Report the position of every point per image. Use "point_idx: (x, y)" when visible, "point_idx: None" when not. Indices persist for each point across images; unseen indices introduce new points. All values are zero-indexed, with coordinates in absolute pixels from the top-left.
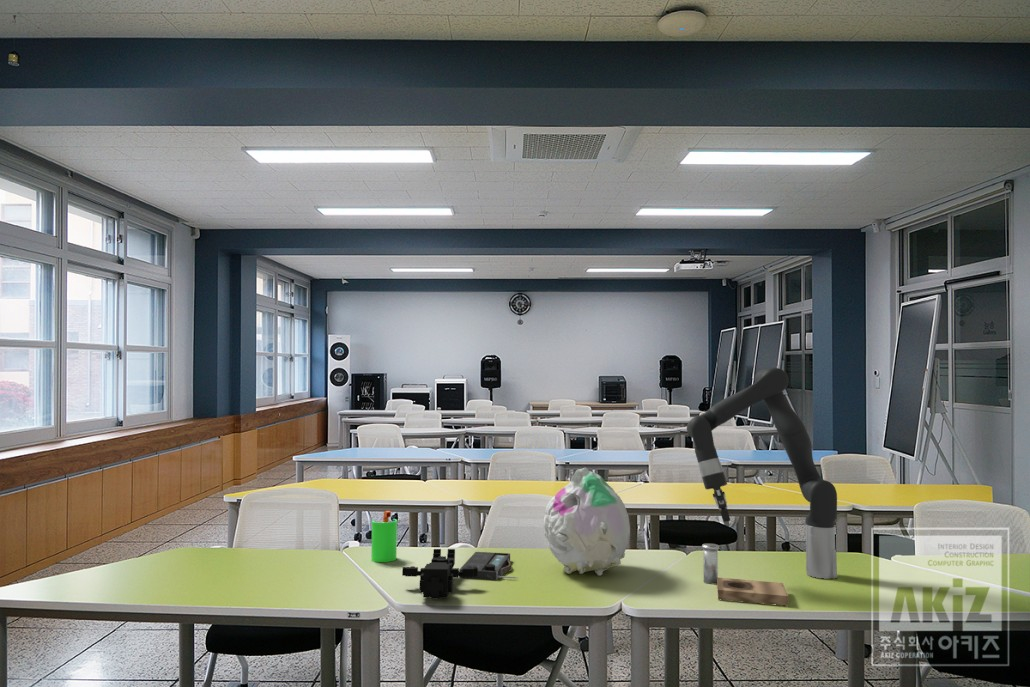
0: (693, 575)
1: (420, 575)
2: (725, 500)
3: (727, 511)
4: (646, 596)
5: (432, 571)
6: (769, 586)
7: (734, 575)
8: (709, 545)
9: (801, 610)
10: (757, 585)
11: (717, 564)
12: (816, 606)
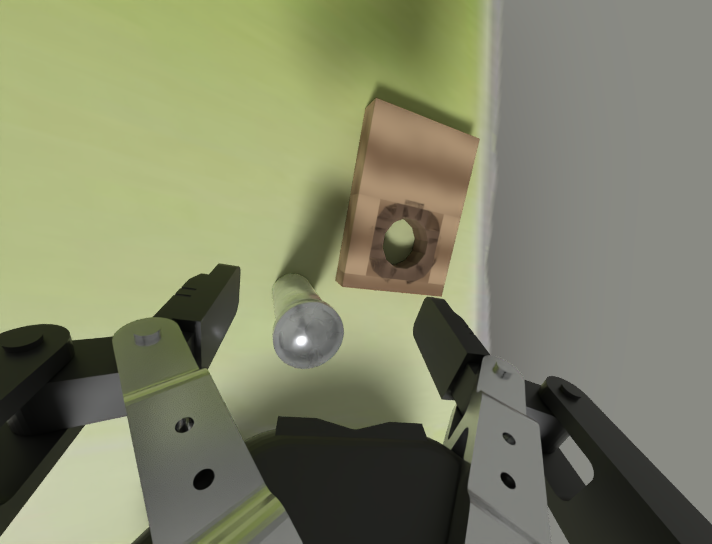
0: (228, 335)
1: None
2: (535, 435)
3: (474, 342)
4: (415, 419)
5: None
6: (411, 157)
7: (192, 205)
8: (310, 340)
9: (482, 124)
10: (404, 189)
11: (309, 288)
12: (460, 69)
